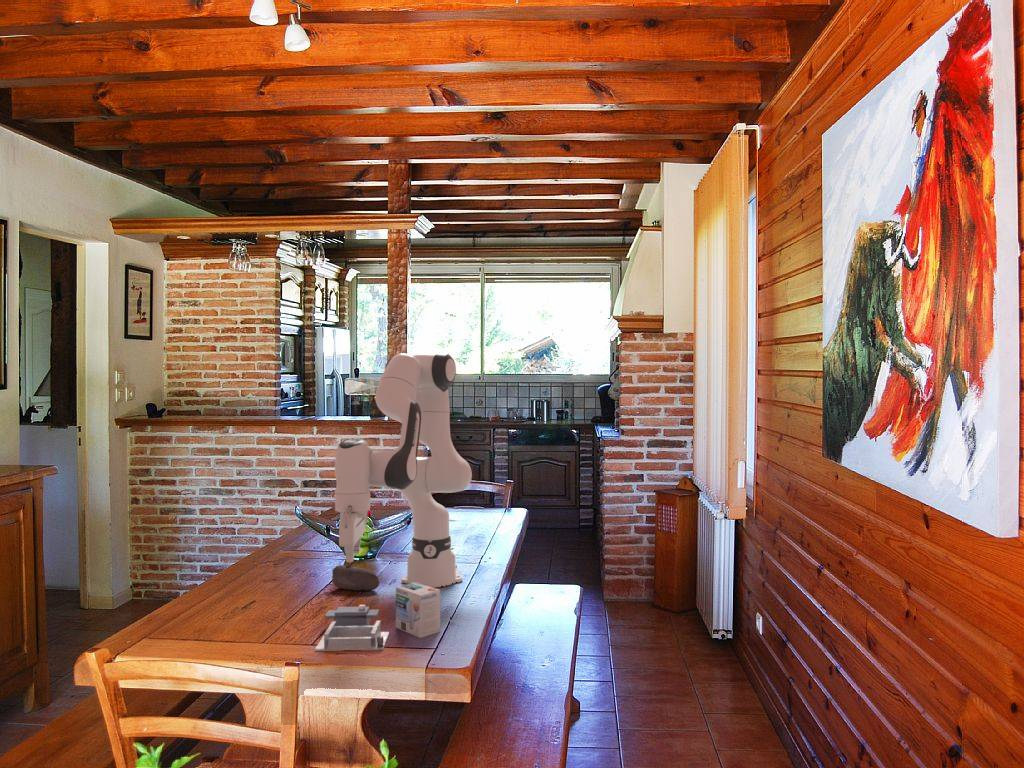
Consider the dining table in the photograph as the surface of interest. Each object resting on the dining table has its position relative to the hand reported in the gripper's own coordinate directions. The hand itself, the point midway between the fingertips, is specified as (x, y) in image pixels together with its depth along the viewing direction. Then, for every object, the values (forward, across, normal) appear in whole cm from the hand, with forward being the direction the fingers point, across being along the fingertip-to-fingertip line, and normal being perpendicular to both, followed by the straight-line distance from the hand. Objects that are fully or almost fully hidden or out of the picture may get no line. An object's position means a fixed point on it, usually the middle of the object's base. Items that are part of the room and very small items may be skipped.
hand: (353, 557), depth 194 cm
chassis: (+19, -9, -1) cm, 21 cm away
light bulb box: (+19, -2, -17) cm, 25 cm away
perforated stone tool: (+18, +35, +5) cm, 39 cm away
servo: (+18, +1, 0) cm, 19 cm away
